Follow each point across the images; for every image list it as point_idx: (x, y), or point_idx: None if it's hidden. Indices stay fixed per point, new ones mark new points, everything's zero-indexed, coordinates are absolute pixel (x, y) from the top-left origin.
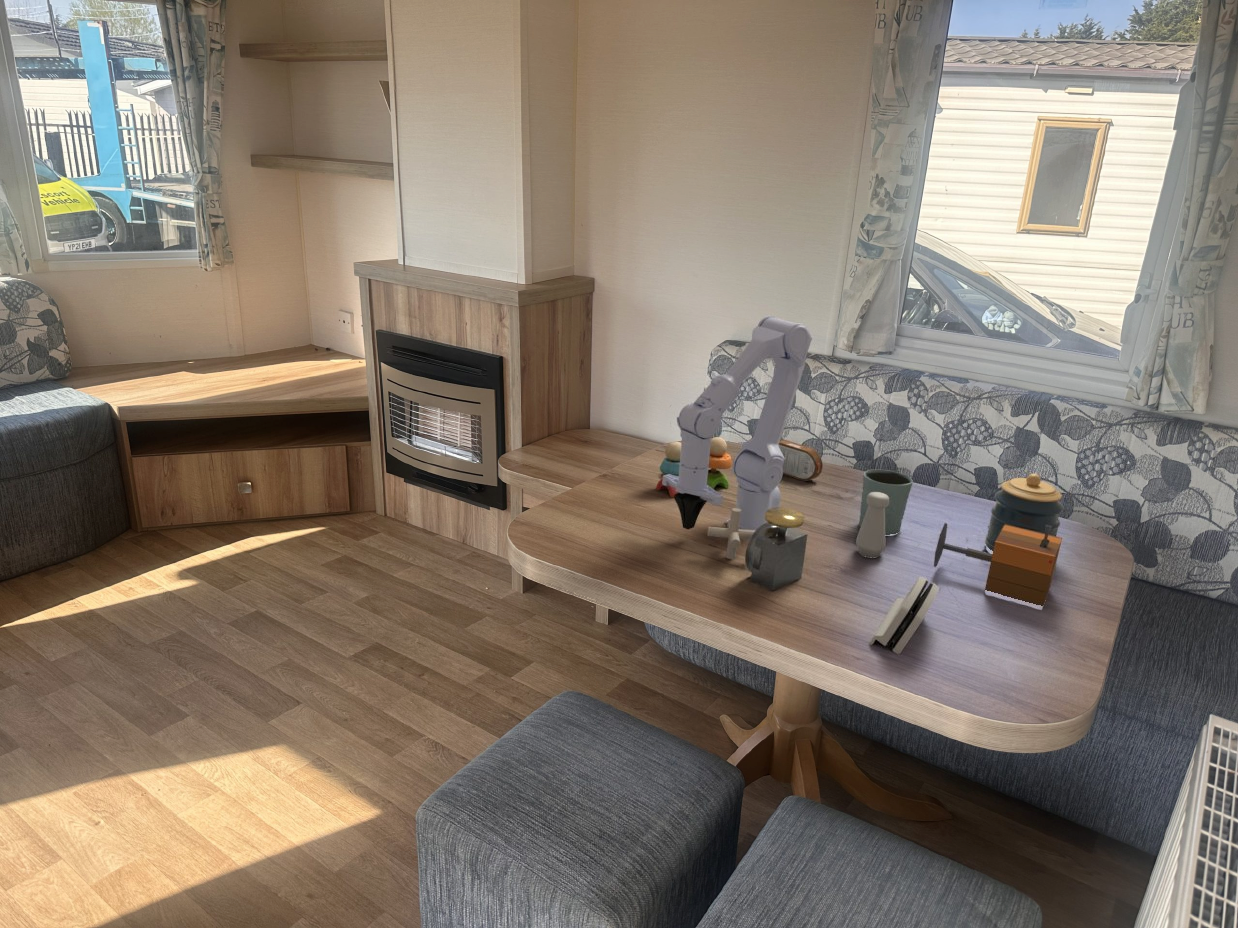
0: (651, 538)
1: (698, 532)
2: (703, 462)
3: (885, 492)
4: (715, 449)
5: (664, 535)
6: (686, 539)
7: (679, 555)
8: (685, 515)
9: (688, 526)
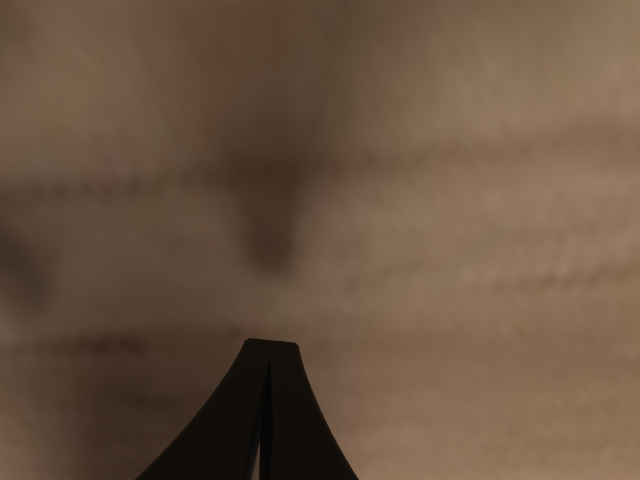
0: (461, 163)
1: None
2: None
3: None
4: None
5: (416, 264)
6: (278, 310)
7: (132, 60)
8: (247, 420)
9: (238, 357)
